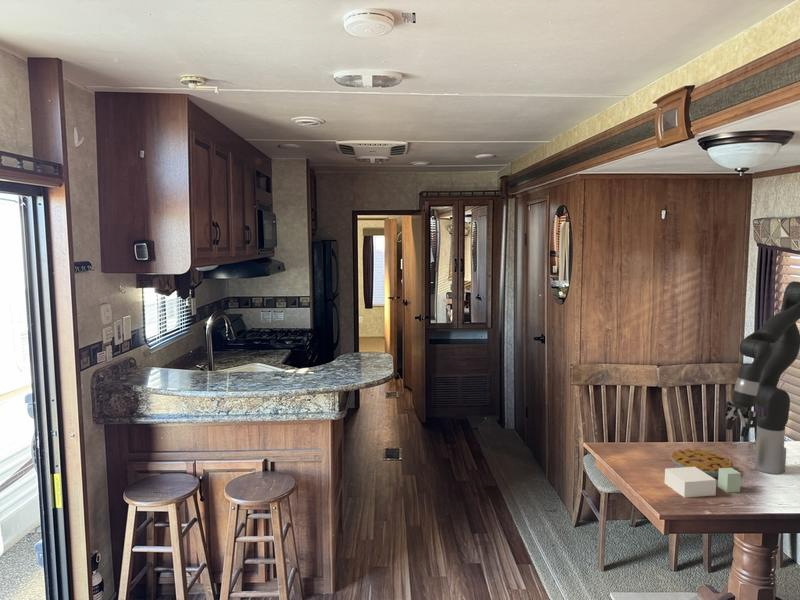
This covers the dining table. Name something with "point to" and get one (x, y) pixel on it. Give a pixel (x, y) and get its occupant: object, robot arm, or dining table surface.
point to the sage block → (729, 480)
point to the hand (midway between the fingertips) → (735, 433)
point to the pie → (701, 461)
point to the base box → (690, 482)
